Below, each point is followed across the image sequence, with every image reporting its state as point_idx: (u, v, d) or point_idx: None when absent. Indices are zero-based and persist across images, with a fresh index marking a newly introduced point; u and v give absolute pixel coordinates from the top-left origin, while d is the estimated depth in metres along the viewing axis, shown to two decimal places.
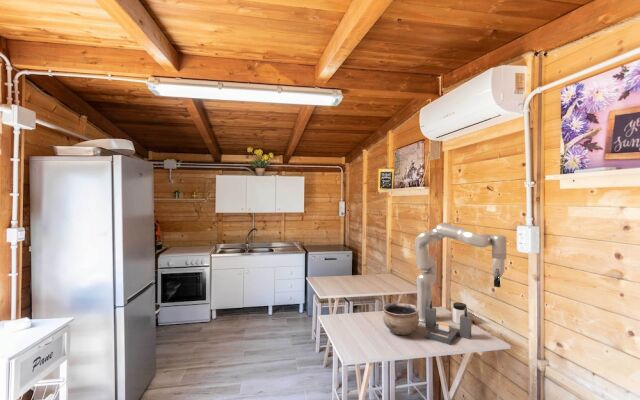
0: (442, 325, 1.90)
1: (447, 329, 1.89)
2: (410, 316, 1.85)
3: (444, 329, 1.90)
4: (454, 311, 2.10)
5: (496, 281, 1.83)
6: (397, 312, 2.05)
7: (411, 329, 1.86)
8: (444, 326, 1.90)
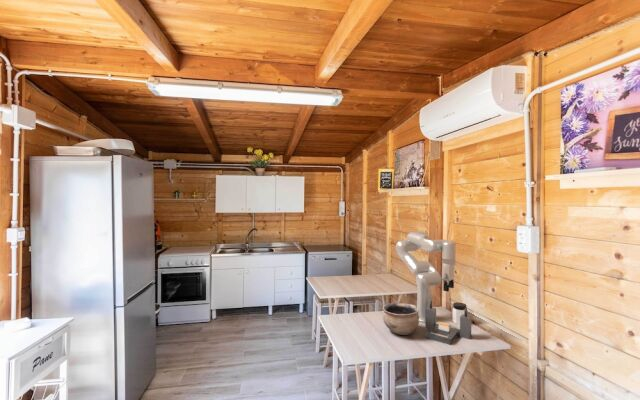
0: (442, 325, 1.90)
1: (447, 329, 1.89)
2: (410, 316, 1.85)
3: (444, 329, 1.90)
4: (454, 311, 2.10)
5: (445, 285, 1.92)
6: (397, 312, 2.05)
7: (411, 329, 1.86)
8: (444, 326, 1.90)
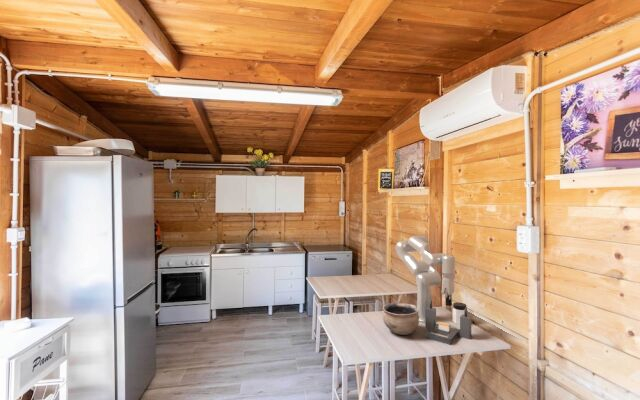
0: (442, 325, 1.90)
1: (447, 329, 1.89)
2: (410, 316, 1.85)
3: (444, 329, 1.90)
4: (454, 311, 2.10)
5: (447, 300, 1.95)
6: (397, 312, 2.05)
7: (411, 329, 1.86)
8: (444, 326, 1.90)
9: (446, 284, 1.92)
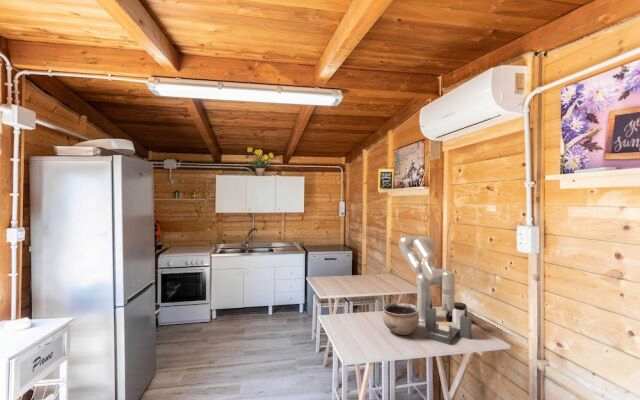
0: (442, 325, 1.90)
1: (447, 329, 1.89)
2: (410, 316, 1.85)
3: (444, 329, 1.90)
4: (454, 311, 2.10)
5: (448, 316, 1.95)
6: (397, 312, 2.05)
7: (411, 329, 1.86)
8: (444, 326, 1.90)
9: (446, 300, 1.92)
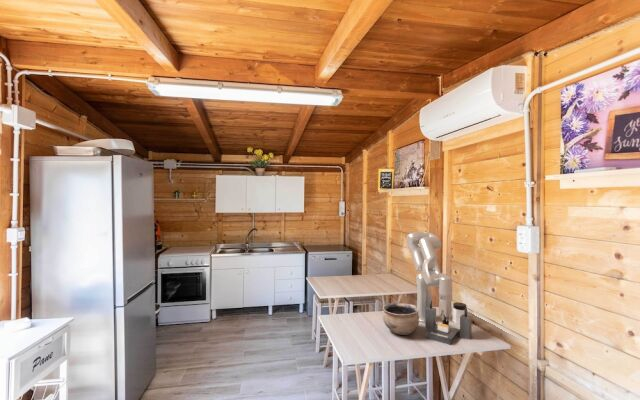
0: (441, 326, 1.89)
1: (446, 330, 1.87)
2: (410, 316, 1.85)
3: (443, 330, 1.89)
4: (454, 311, 2.10)
5: (444, 322, 1.91)
6: (397, 312, 2.05)
7: (411, 329, 1.86)
8: (443, 327, 1.89)
9: (443, 306, 1.88)
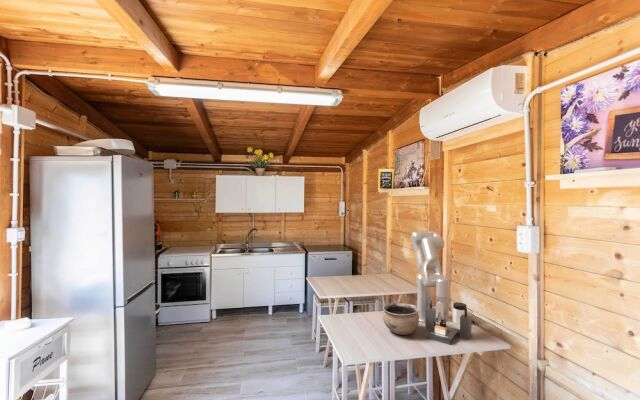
0: (438, 328, 1.86)
1: (443, 332, 1.84)
2: (410, 316, 1.85)
3: (440, 332, 1.85)
4: (454, 311, 2.10)
5: (441, 324, 1.88)
6: (397, 312, 2.05)
7: (411, 329, 1.86)
8: (440, 329, 1.85)
9: (440, 308, 1.85)
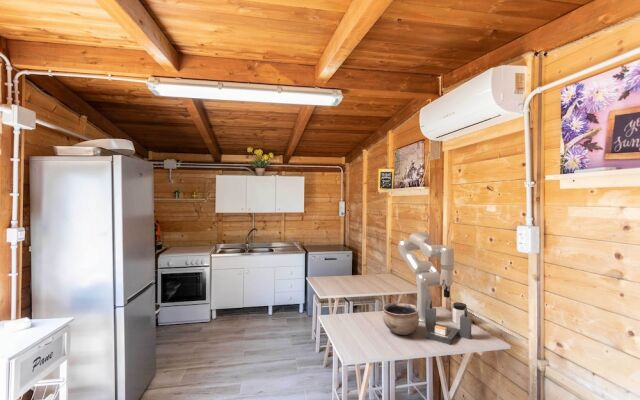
0: (438, 328, 1.86)
1: (443, 332, 1.84)
2: (410, 316, 1.85)
3: (440, 332, 1.85)
4: (454, 311, 2.10)
5: (445, 292, 1.94)
6: (397, 312, 2.05)
7: (411, 329, 1.86)
8: (440, 329, 1.85)
9: (444, 276, 1.91)
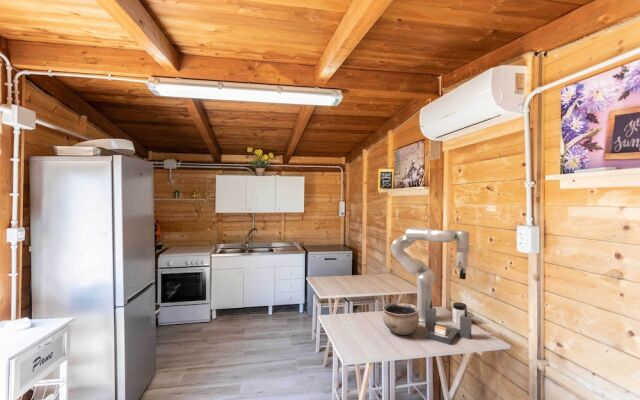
0: (438, 328, 1.86)
1: (443, 332, 1.84)
2: (410, 316, 1.86)
3: (440, 332, 1.85)
4: (454, 311, 2.10)
5: (461, 274, 2.01)
6: (397, 312, 2.05)
7: (411, 329, 1.86)
8: (440, 329, 1.85)
9: (461, 258, 1.98)
